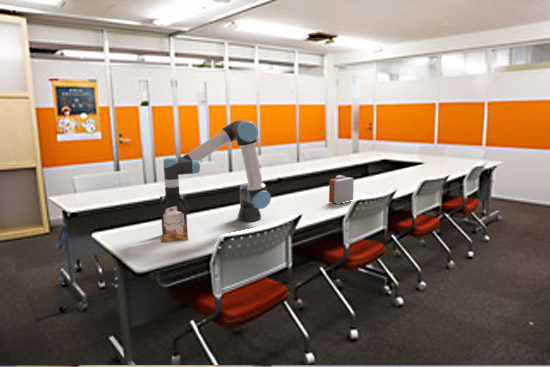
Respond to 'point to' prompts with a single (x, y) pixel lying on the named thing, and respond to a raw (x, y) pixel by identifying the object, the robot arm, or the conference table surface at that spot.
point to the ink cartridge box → (173, 221)
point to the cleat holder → (177, 236)
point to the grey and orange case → (341, 189)
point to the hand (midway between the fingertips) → (174, 225)
